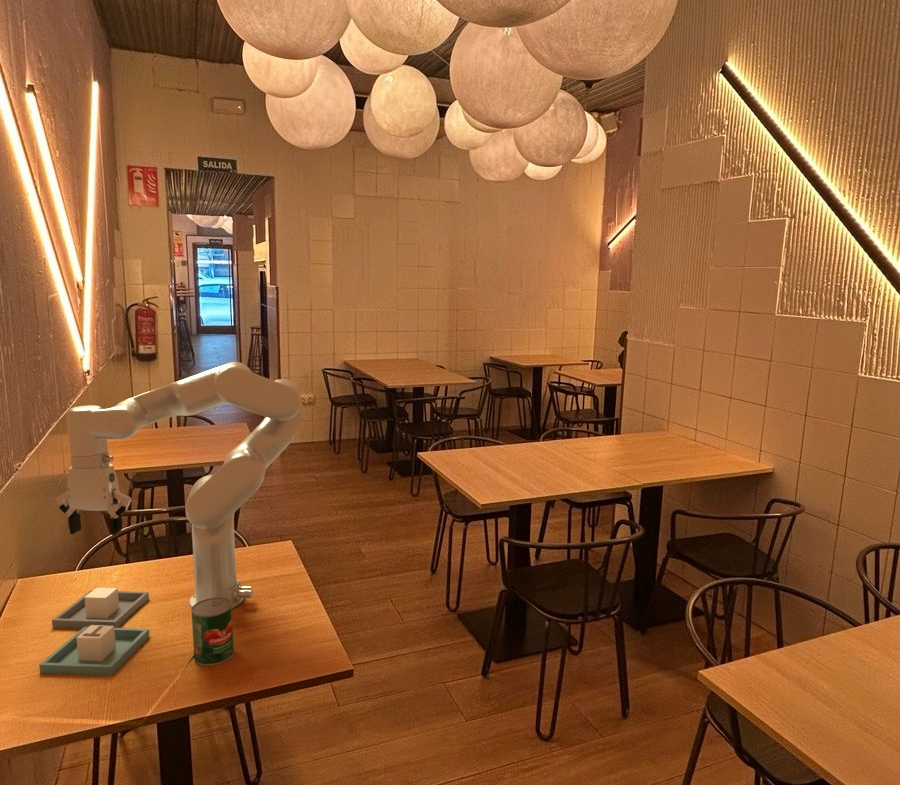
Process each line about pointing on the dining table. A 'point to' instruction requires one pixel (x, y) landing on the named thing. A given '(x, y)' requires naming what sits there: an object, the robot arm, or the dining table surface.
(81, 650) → the letter cube
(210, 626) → the canned tomato
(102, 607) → the blank cube
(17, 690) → the dining table surface
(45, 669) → the teal tray
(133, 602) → the charcoal tray
